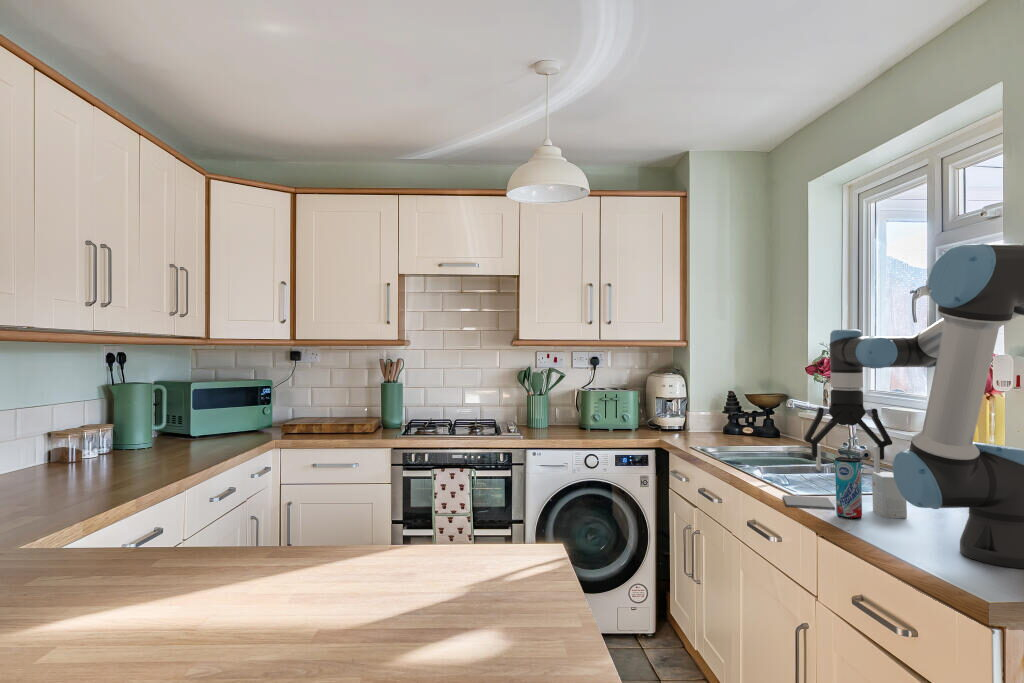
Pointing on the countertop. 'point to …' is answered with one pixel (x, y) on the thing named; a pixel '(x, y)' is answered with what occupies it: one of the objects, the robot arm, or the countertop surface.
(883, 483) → the small box
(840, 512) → the beverage can
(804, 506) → the coaster
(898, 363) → the robot arm
